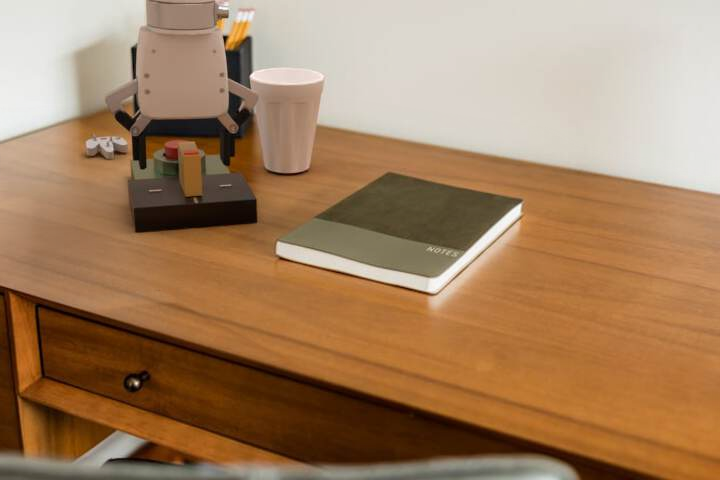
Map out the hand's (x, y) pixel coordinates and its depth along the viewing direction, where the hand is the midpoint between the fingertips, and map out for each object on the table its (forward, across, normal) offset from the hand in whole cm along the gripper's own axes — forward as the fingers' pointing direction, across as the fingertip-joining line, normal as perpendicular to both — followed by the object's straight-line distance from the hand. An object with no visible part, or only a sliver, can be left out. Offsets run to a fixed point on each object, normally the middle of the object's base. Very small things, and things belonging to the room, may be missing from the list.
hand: (184, 164), depth 106 cm
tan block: (+3, -1, 0) cm, 3 cm away
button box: (+6, -1, -11) cm, 13 cm away
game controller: (+6, +8, -29) cm, 31 cm away
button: (+2, -1, -11) cm, 11 cm away
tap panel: (+6, -1, 0) cm, 6 cm away
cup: (+6, -16, -14) cm, 22 cm away
